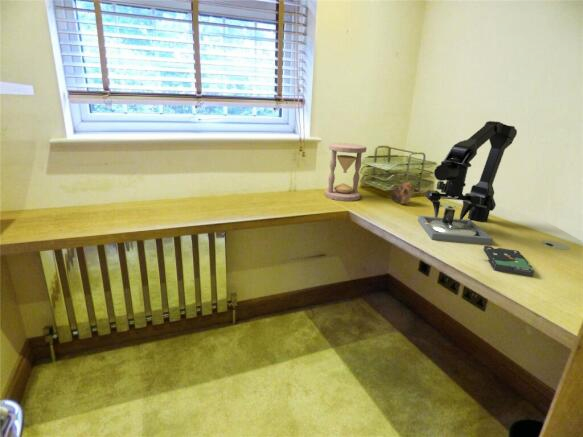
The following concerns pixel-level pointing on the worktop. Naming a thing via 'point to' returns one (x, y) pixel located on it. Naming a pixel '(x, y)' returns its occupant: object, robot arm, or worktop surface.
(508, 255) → the disk drive
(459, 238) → the dial housing
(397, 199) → the decorative rock
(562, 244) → the worktop surface
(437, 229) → the dial
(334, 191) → the hourglass
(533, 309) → the worktop surface
